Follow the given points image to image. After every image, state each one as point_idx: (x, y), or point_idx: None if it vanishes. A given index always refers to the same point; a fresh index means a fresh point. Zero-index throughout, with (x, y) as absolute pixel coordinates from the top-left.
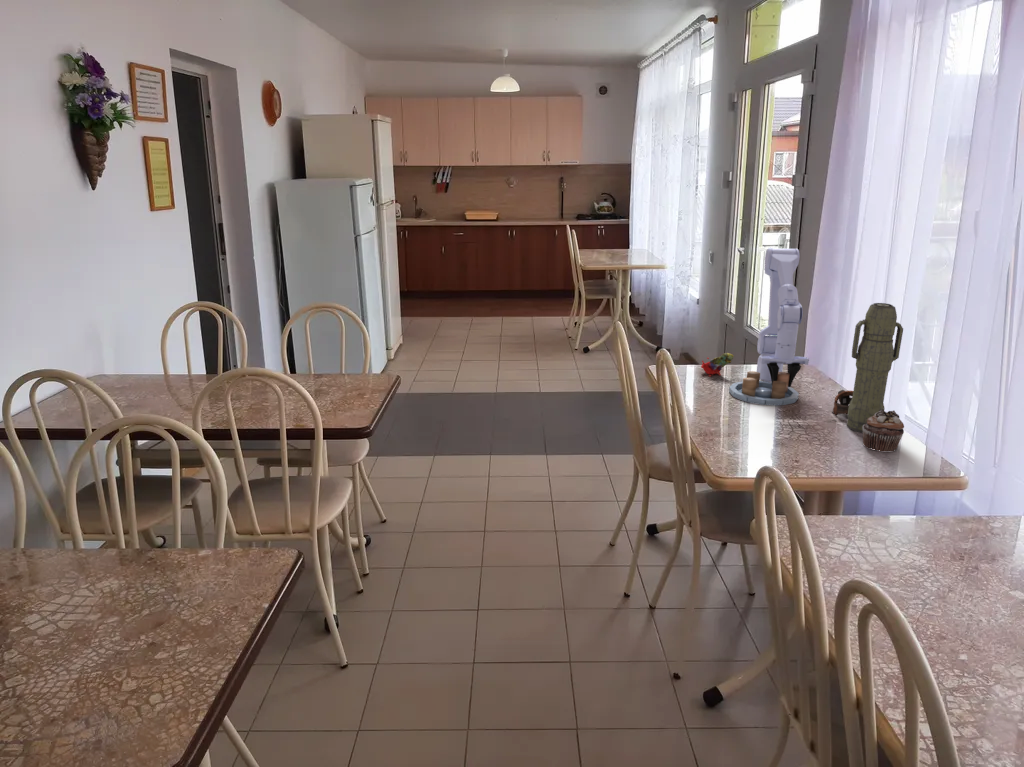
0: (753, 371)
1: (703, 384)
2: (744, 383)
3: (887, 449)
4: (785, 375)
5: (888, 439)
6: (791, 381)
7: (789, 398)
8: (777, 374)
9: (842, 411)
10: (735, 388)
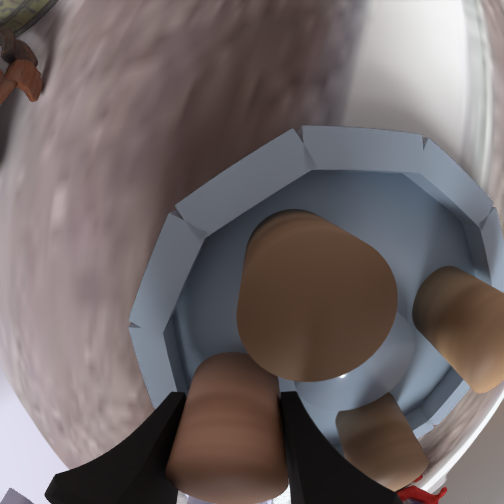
0: None
1: (465, 425)
2: None
3: None
4: (211, 456)
5: None
6: (158, 415)
7: (226, 185)
8: (300, 463)
9: (21, 42)
10: None
